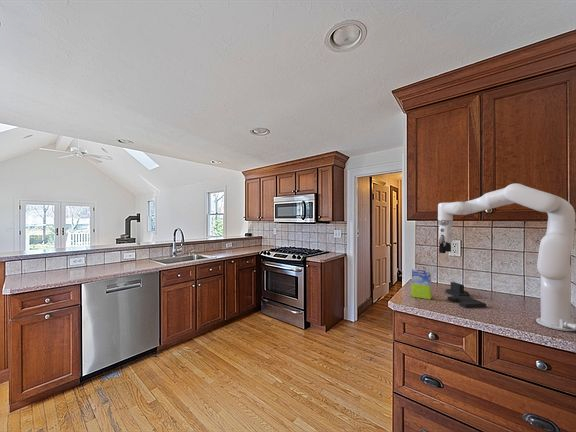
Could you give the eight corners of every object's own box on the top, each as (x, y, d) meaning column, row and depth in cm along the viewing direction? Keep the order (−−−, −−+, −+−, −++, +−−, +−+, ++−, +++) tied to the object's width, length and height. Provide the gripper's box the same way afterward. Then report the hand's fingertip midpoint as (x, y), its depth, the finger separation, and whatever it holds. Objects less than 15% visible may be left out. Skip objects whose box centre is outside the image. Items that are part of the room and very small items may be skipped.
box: (431, 298, 157) (431, 269, 157) (430, 300, 153) (430, 271, 153) (412, 295, 163) (412, 268, 163) (411, 296, 159) (411, 269, 159)
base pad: (486, 307, 140) (486, 303, 140) (465, 307, 140) (465, 304, 140) (466, 299, 154) (466, 295, 154) (447, 299, 154) (447, 296, 154)
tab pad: (473, 297, 158) (473, 285, 158) (458, 297, 157) (458, 286, 157) (459, 291, 170) (459, 281, 170) (445, 292, 169) (445, 281, 169)
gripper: (447, 223, 143) (447, 254, 143) (457, 223, 155) (456, 251, 155) (433, 223, 149) (432, 253, 149) (443, 223, 160) (443, 250, 160)
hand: (445, 252), depth 152 cm, fingers open, 9 cm apart
